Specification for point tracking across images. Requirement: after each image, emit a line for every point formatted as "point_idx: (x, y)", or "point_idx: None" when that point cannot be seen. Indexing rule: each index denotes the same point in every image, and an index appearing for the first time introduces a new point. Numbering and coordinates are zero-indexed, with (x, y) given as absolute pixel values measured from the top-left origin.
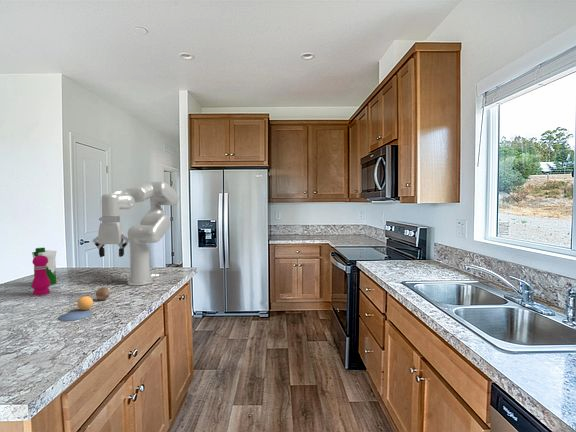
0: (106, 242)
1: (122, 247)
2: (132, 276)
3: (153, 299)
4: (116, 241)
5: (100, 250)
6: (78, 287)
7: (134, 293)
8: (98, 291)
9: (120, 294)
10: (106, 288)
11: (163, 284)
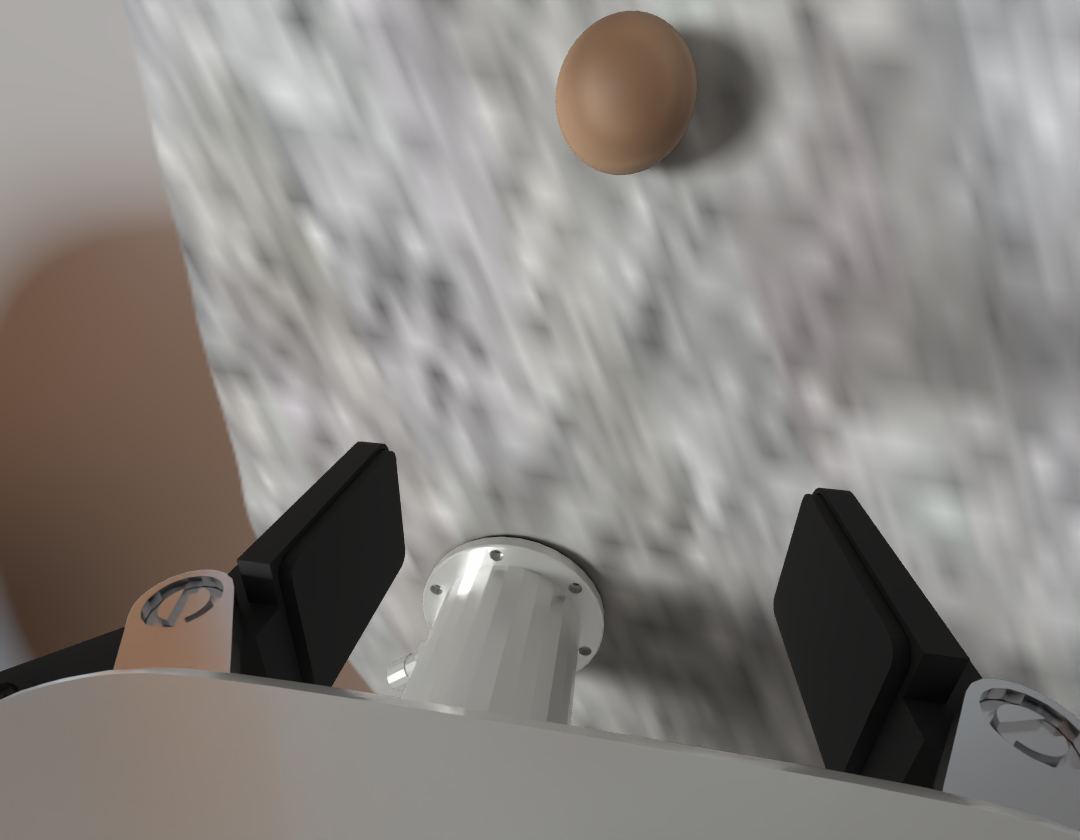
0: (672, 833)
1: (154, 589)
2: (542, 618)
3: (161, 75)
4: (9, 789)
5: (902, 605)
6: (1002, 576)
7: (423, 306)
8: (652, 23)
9: (531, 288)
10: (581, 99)
11: None
